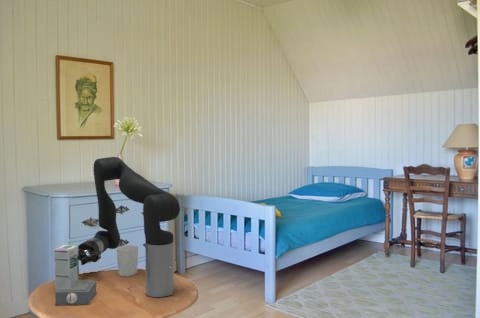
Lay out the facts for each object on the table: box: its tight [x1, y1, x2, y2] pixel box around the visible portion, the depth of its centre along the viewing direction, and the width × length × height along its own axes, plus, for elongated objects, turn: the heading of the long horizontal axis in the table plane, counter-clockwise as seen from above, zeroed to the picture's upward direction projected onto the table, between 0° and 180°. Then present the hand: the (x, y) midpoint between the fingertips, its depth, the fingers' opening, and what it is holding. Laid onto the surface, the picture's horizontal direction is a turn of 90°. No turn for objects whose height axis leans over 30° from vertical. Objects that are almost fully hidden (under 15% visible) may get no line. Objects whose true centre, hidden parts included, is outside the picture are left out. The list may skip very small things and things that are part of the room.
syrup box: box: [53, 244, 80, 291], centre depth 151 cm, size 6×6×14 cm
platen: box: [60, 279, 93, 291], centre depth 142 cm, size 8×8×1 cm
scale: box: [54, 280, 97, 306], centre depth 141 cm, size 10×11×4 cm
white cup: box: [116, 244, 139, 277], centre depth 167 cm, size 8×8×10 cm
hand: (70, 261), depth 153 cm, fingers open, 8 cm apart
